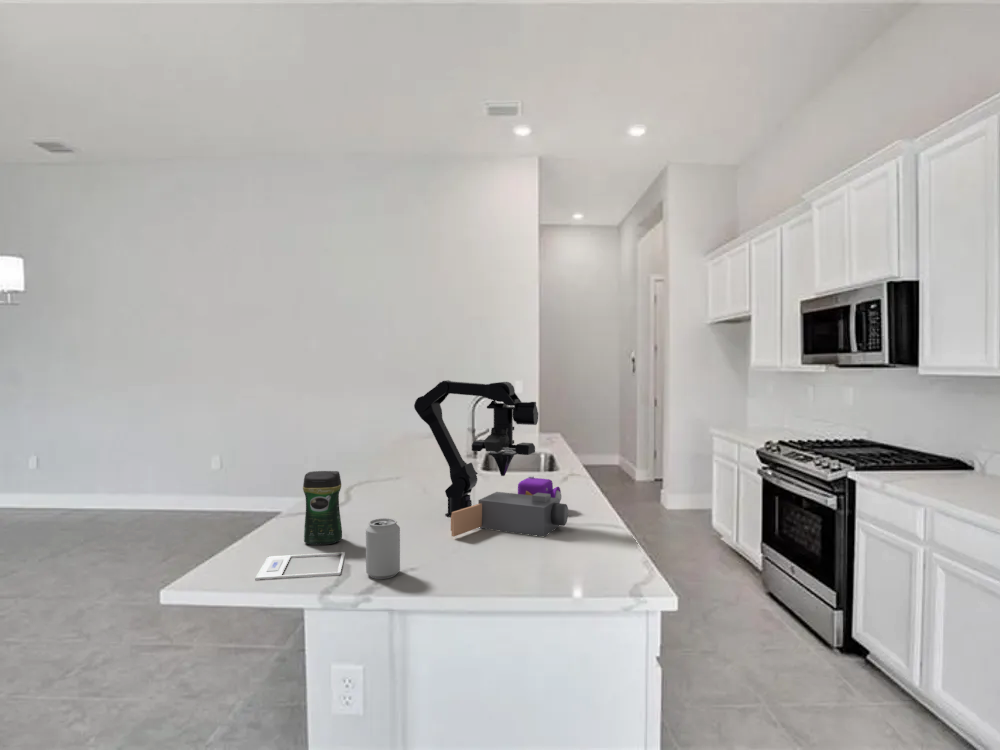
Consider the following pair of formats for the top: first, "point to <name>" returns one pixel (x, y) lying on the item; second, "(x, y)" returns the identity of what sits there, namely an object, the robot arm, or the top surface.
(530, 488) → the toy camera
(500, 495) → the block
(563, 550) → the top surface
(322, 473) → the coffee jar
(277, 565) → the photo frame
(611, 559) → the top surface
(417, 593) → the top surface
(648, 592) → the top surface
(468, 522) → the side door
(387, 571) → the can
